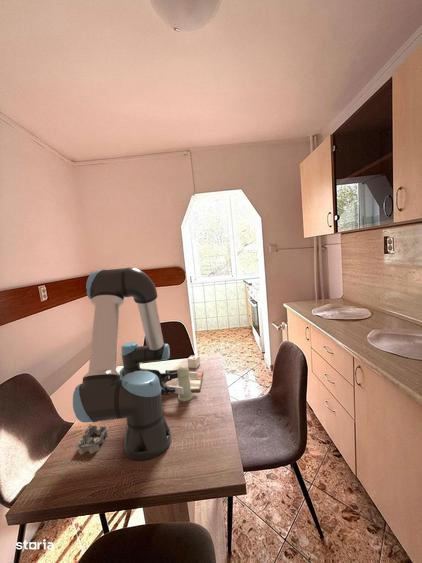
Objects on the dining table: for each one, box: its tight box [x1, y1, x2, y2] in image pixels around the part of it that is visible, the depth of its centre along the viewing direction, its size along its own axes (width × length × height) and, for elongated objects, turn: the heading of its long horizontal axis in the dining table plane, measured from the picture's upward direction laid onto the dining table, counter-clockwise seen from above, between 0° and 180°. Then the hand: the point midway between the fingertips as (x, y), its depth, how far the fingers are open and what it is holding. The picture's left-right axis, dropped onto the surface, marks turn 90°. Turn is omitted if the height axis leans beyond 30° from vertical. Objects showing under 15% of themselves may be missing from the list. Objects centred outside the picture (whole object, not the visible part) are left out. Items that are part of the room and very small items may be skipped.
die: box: [187, 355, 201, 369], centre depth 146 cm, size 5×5×5 cm
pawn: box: [176, 365, 194, 403], centre depth 113 cm, size 6×6×14 cm
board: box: [175, 371, 204, 393], centre depth 127 cm, size 18×12×1 cm, turn 177°
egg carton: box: [75, 423, 109, 455], centre depth 89 cm, size 11×8×4 cm
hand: (190, 382), depth 112 cm, fingers open, 13 cm apart
